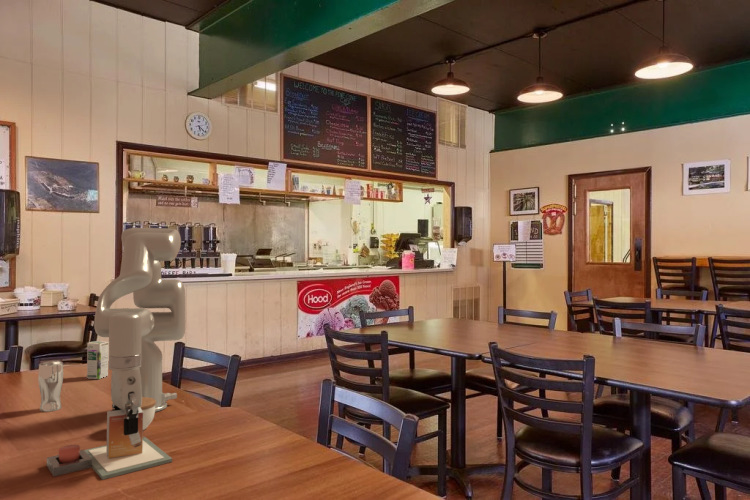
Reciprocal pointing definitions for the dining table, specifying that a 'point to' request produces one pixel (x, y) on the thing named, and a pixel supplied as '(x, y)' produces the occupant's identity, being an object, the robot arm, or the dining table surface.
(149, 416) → the lidded jar
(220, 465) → the dining table surface
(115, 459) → the board
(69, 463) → the button housing
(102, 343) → the syrup box
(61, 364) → the beer glass
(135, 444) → the small box
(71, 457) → the red rounded knob
